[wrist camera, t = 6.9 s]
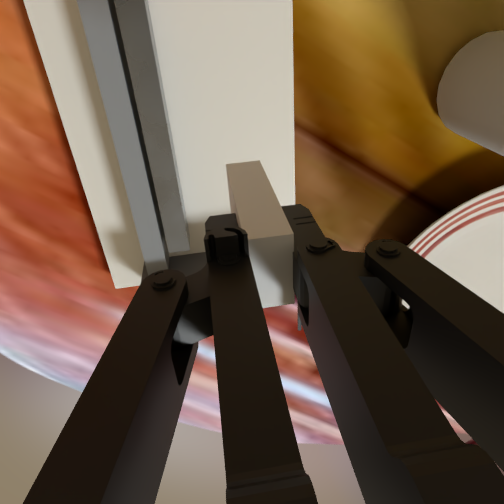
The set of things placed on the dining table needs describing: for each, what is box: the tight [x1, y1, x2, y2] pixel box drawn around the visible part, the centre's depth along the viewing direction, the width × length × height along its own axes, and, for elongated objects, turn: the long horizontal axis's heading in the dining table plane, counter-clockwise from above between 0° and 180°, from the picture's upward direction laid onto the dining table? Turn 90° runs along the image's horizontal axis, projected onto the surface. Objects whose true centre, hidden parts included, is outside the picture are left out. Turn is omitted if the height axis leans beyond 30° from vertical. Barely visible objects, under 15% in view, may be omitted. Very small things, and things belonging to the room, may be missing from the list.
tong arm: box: [114, 0, 190, 253], centre depth 27 cm, size 17×2×2 cm, turn 4°
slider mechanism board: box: [23, 0, 295, 289], centre depth 26 cm, size 28×16×6 cm, turn 4°
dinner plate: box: [402, 185, 504, 313], centre depth 42 cm, size 28×27×3 cm
